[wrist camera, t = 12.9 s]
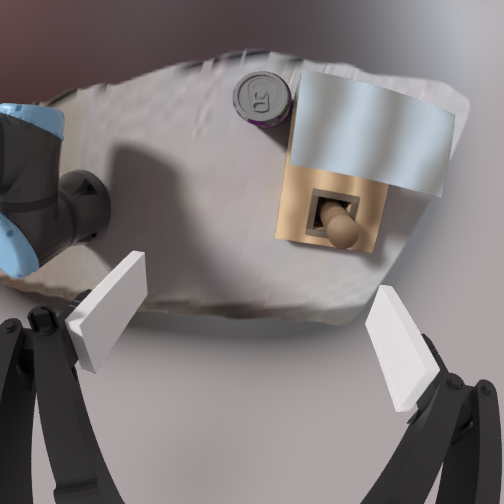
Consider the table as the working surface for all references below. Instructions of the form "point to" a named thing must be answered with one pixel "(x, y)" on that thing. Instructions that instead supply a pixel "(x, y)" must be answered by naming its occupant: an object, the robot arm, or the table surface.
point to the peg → (338, 224)
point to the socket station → (357, 154)
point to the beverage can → (262, 99)
